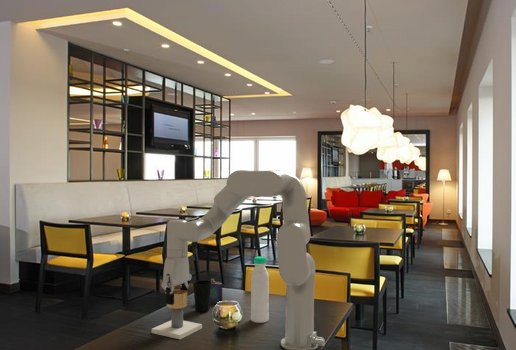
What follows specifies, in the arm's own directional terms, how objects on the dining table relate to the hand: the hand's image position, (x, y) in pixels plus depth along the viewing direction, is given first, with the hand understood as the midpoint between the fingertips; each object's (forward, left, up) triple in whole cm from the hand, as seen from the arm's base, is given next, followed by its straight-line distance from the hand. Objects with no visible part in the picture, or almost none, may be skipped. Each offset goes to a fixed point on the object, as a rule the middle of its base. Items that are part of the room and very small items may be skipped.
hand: (176, 301), depth 169 cm
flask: (+9, -36, -11) cm, 39 cm away
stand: (0, 0, -11) cm, 11 cm away
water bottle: (-21, -25, -11) cm, 35 cm away
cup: (+6, -24, -11) cm, 27 cm away
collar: (0, 0, -2) cm, 2 cm away
